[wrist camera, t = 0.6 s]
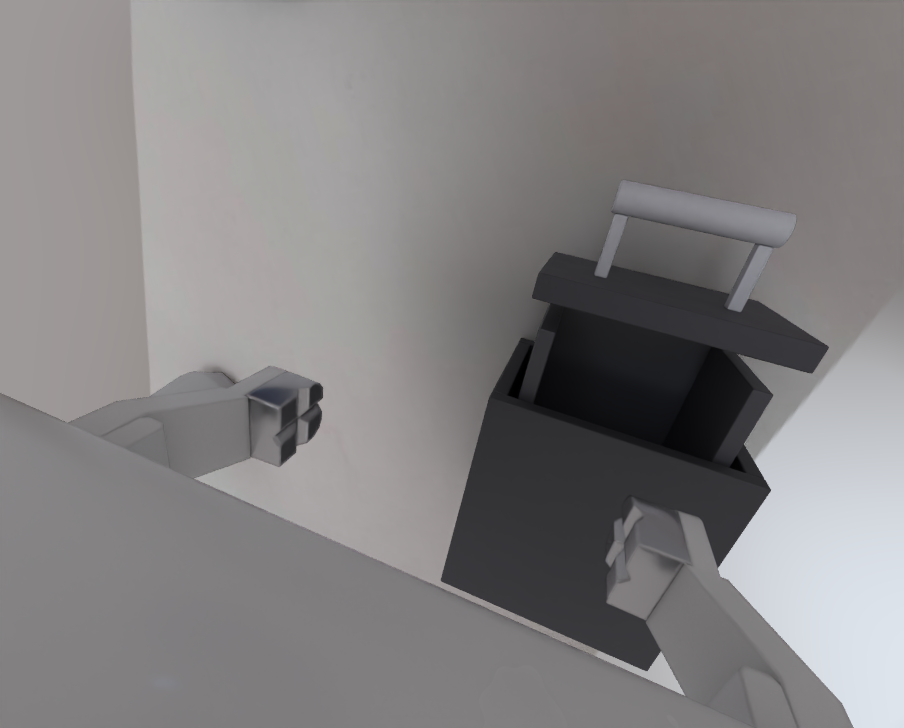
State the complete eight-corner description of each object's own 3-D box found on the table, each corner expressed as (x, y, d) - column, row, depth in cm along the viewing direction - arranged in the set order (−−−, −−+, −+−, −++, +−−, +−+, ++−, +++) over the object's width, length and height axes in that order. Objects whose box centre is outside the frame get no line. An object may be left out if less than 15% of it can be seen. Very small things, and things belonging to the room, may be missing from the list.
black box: (521, 337, 28) (489, 396, 20) (714, 394, 26) (772, 490, 17) (478, 486, 34) (440, 581, 26) (633, 545, 32) (647, 672, 23)
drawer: (577, 174, 23) (568, 165, 16) (802, 220, 21) (904, 231, 14) (504, 421, 30) (477, 487, 23) (666, 476, 28) (688, 568, 21)
